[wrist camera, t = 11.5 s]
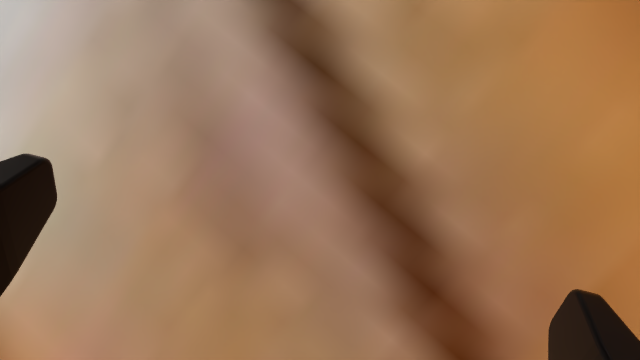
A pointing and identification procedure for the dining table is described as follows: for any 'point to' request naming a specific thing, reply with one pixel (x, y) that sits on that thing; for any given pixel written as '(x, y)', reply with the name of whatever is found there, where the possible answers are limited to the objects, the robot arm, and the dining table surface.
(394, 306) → the dining table surface
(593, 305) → the robot arm
